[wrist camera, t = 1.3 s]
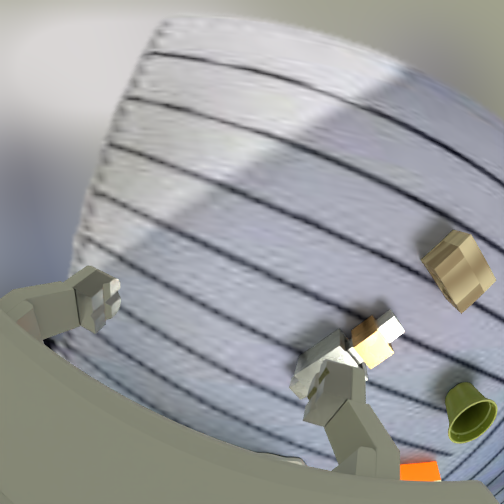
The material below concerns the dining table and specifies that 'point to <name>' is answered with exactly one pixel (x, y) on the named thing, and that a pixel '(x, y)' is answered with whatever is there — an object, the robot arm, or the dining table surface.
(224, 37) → the dining table surface
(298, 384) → the tube
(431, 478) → the orange juice
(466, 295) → the socket block
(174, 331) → the dining table surface
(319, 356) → the outer sleeve
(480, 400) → the plant pot
